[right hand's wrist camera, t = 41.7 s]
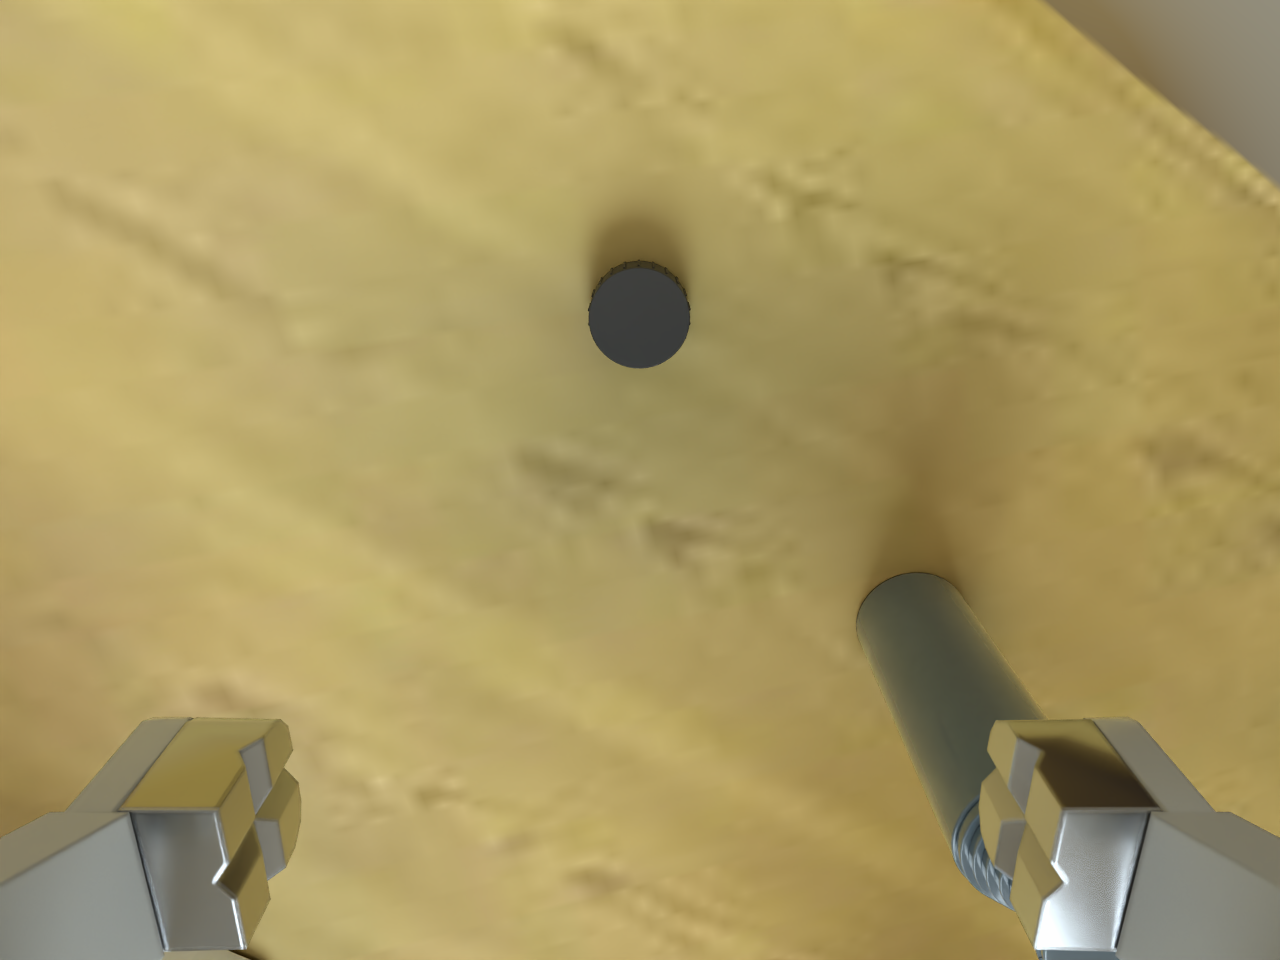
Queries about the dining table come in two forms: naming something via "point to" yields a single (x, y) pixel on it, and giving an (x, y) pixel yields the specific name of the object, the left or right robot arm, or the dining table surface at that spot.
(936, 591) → the bottle
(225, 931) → the right robot arm
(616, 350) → the cap
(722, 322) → the dining table surface
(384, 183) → the dining table surface
